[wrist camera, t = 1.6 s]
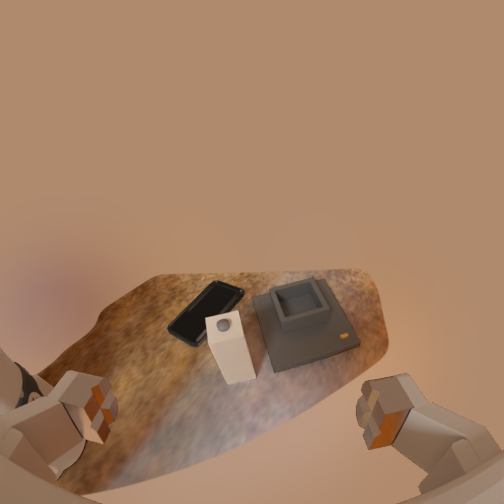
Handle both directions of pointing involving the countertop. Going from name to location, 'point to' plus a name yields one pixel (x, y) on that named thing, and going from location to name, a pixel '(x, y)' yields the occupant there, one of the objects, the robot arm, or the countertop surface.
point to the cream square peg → (230, 347)
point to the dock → (303, 324)
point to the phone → (204, 312)
